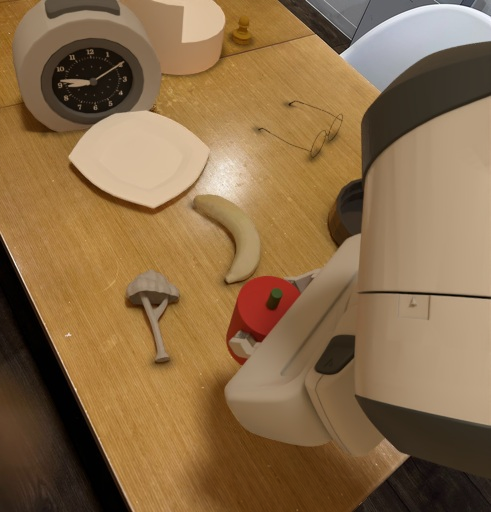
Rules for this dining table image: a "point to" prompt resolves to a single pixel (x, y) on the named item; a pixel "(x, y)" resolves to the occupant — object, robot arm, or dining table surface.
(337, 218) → the pan
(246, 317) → the pepper
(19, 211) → the dining table surface
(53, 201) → the dining table surface
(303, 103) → the eyeglasses
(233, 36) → the chess piece
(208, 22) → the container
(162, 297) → the mushroom
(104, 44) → the alarm clock
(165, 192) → the plate
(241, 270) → the fruit
